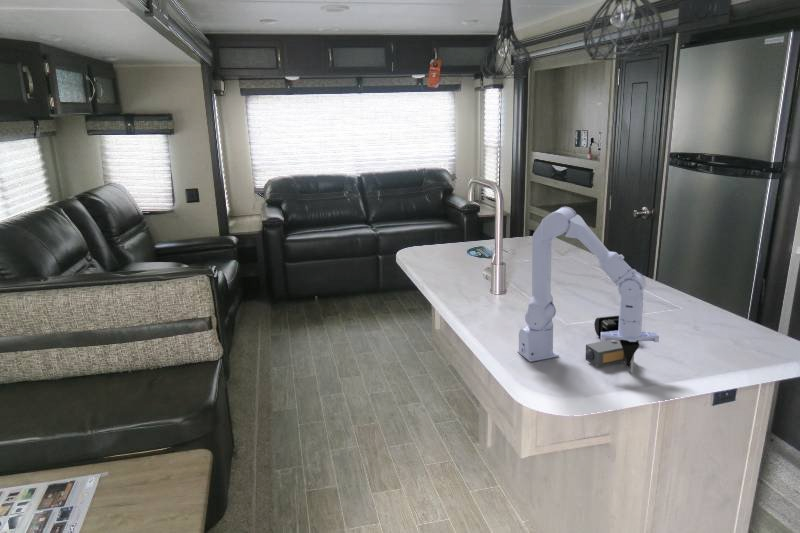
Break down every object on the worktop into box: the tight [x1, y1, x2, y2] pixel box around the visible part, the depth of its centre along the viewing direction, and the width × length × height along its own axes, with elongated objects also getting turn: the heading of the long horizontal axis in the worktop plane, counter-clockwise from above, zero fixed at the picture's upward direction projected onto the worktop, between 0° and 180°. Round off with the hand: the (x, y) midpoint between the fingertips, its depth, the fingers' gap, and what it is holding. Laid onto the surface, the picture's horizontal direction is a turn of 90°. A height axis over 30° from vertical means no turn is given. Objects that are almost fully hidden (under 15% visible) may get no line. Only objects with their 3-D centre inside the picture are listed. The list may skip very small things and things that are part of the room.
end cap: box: [593, 314, 619, 341], centre depth 176 cm, size 10×7×7 cm
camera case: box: [585, 340, 625, 368], centre depth 161 cm, size 11×6×5 cm, turn 106°
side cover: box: [630, 354, 635, 374], centre depth 156 cm, size 9×1×4 cm, turn 158°
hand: (627, 365), depth 155 cm, fingers closed
